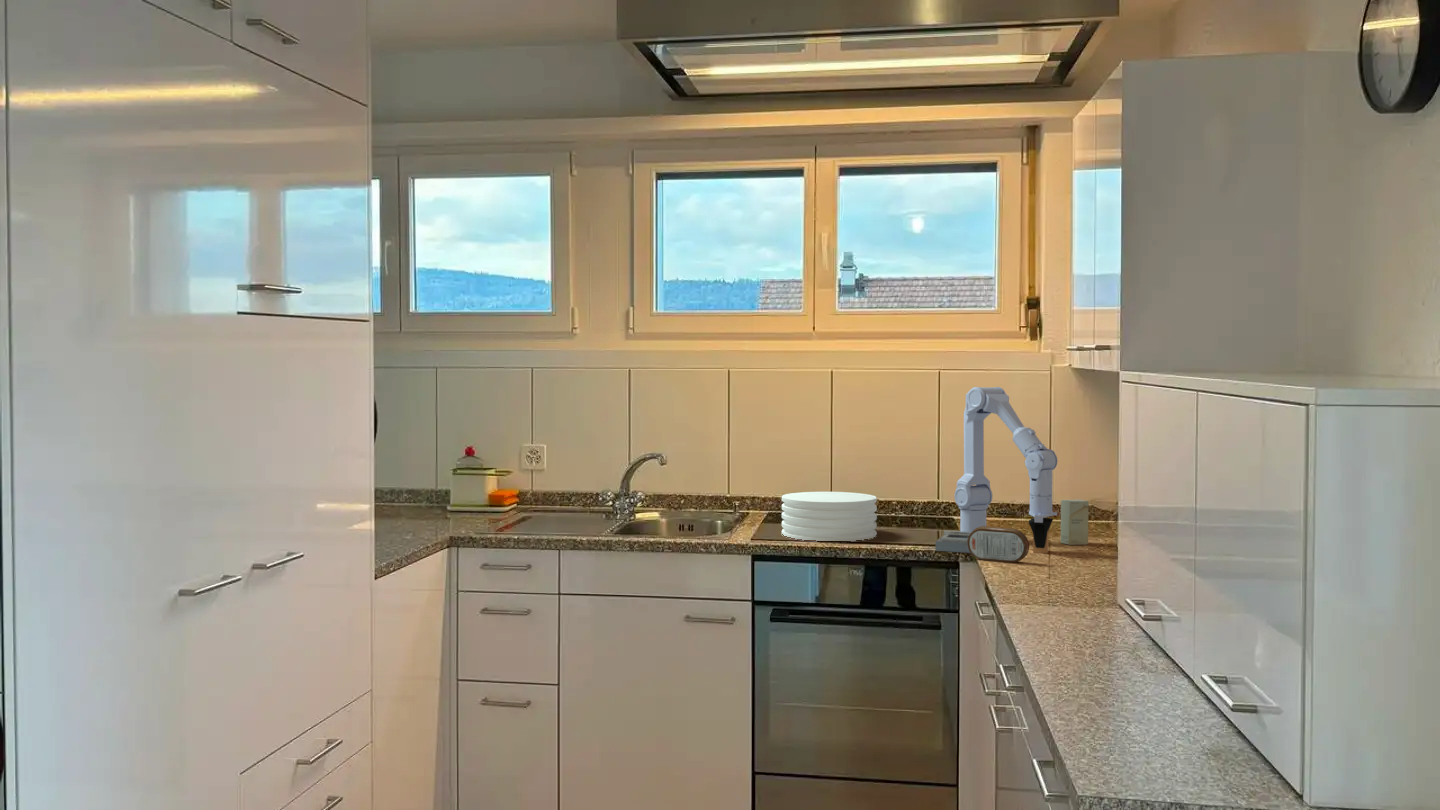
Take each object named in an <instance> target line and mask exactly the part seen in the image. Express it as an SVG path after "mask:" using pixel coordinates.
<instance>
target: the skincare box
mask: <svg viewBox="0 0 1440 810" xmlns="http://www.w3.org/2000/svg"><path fill="white" fill-rule="evenodd" d="M1089 503H1090V502H1089V500H1083V499H1061V500H1060V543H1061V544H1063V545H1070V546H1072V545H1073V546H1076V545H1077V546H1078V545H1089Z"/></svg>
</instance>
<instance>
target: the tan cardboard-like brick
mask: <svg viewBox="0 0 1440 810" xmlns="http://www.w3.org/2000/svg"><path fill="white" fill-rule="evenodd" d="M1032 536H1033V535H1032ZM1032 539H1033V540H1032V541H1033V543H1032V544H1033V545H1032V548H1033V549H1032V552H1033V553H1035V554H1048V553H1049V531H1048V532H1047V537H1046V543H1045V547H1044V548H1036V546H1035V541H1034V536H1033V537H1032Z"/></svg>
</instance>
